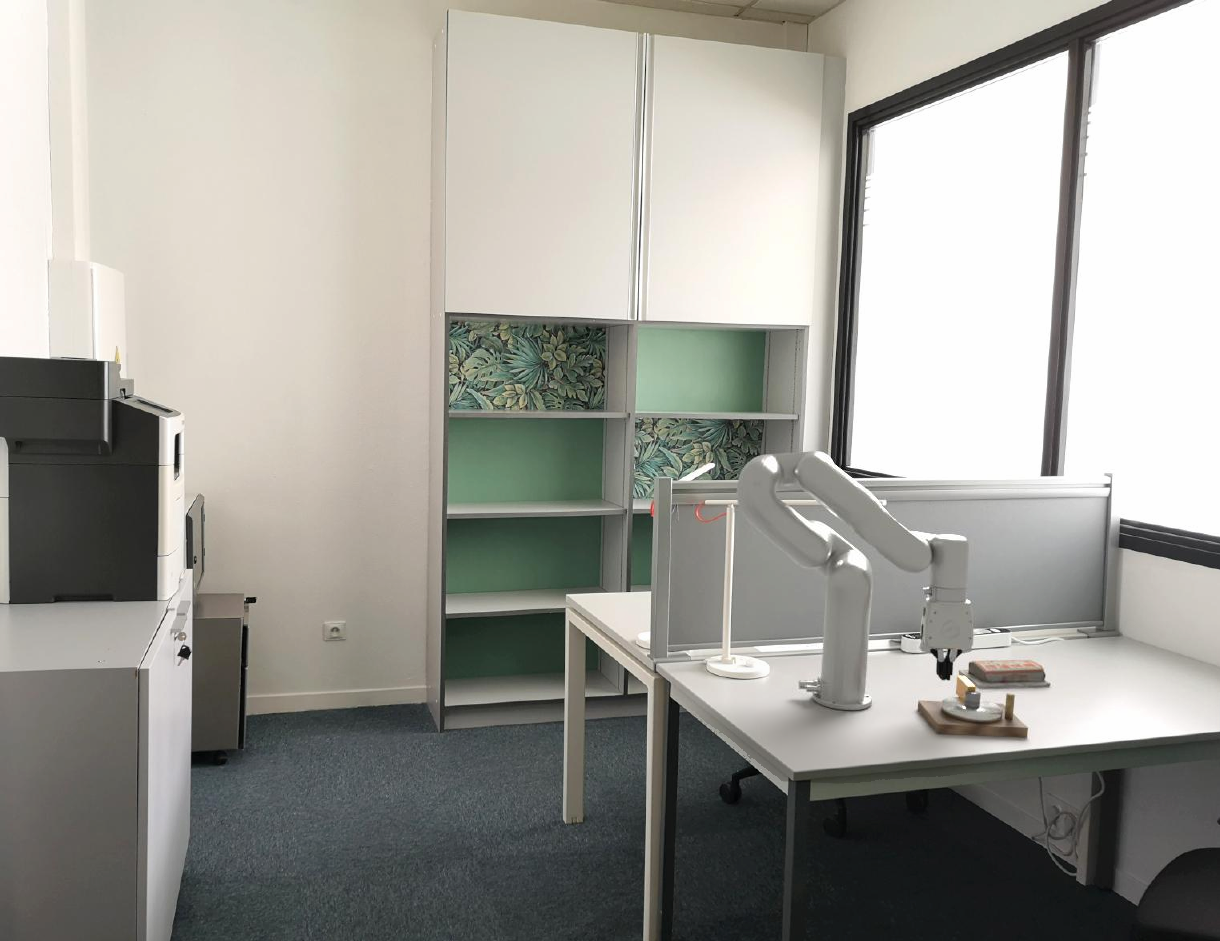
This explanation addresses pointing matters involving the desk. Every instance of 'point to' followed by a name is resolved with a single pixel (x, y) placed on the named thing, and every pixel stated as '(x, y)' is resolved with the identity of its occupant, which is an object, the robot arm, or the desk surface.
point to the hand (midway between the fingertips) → (944, 678)
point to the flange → (970, 704)
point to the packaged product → (1005, 674)
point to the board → (961, 727)
